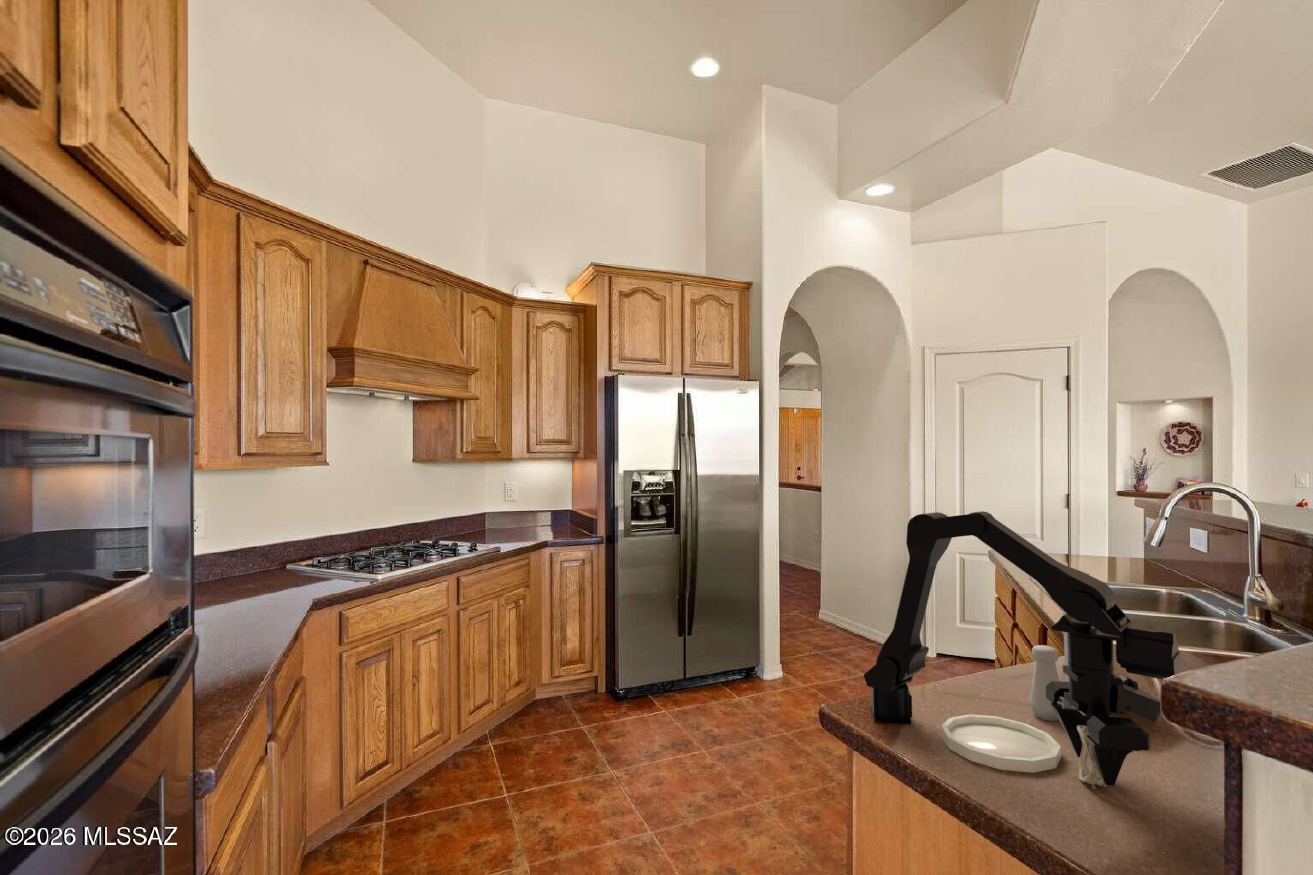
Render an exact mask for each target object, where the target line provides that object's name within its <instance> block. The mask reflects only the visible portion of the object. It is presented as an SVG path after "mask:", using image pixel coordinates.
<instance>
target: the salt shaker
mask: <svg viewBox="0 0 1313 875" xmlns="http://www.w3.org/2000/svg"><path fill="white" fill-rule="evenodd" d="M1059 656H1060V654H1059V651H1058V650H1057V649H1056V648H1054V647H1053V646H1050V645H1045V644H1041V645H1040V644H1037V645H1034V646H1033V647H1032V649H1031V657H1032V658H1033V659H1034V660H1035V663H1034V670H1033V674H1032V675H1033V676H1032V682H1031V688H1030V694H1029V699H1028V703H1029V704H1028V705H1029V706H1030V707H1031V710H1032V712H1033V713H1034V715H1035V717H1036V718H1038V719H1041V720H1044V721H1047V722H1049V721H1050V722H1058V721H1060V720H1059V718H1058V717H1057V715H1056V713H1055V711H1054V709H1053V707H1052V706H1051V703H1052V702H1051V701H1049V700H1048V699H1047V698H1046V685H1047V684H1049V683H1050V682H1051V681H1060V678H1059V672H1058V669H1057V665H1056V662H1058V660H1059Z"/></svg>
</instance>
